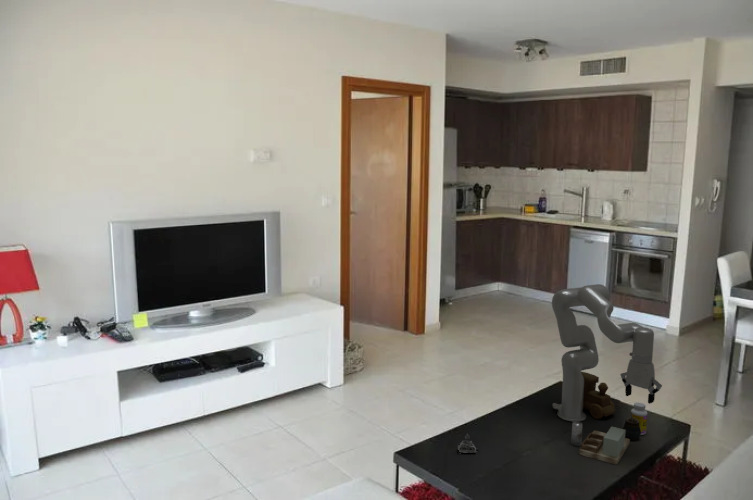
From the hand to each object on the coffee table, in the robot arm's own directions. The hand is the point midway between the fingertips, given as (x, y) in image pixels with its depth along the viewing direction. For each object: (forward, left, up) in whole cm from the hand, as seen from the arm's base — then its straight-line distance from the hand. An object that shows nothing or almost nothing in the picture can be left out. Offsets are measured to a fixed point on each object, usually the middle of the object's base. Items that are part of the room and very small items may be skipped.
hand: (639, 399), depth 249 cm
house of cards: (-57, -38, -23) cm, 72 cm away
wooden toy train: (-26, +29, -23) cm, 45 cm away
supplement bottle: (-3, +19, -23) cm, 30 cm away
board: (-11, -6, -22) cm, 26 cm away
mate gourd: (-4, +12, -23) cm, 26 cm away
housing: (-7, -9, -20) cm, 23 cm away
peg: (-22, -8, -23) cm, 32 cm away
